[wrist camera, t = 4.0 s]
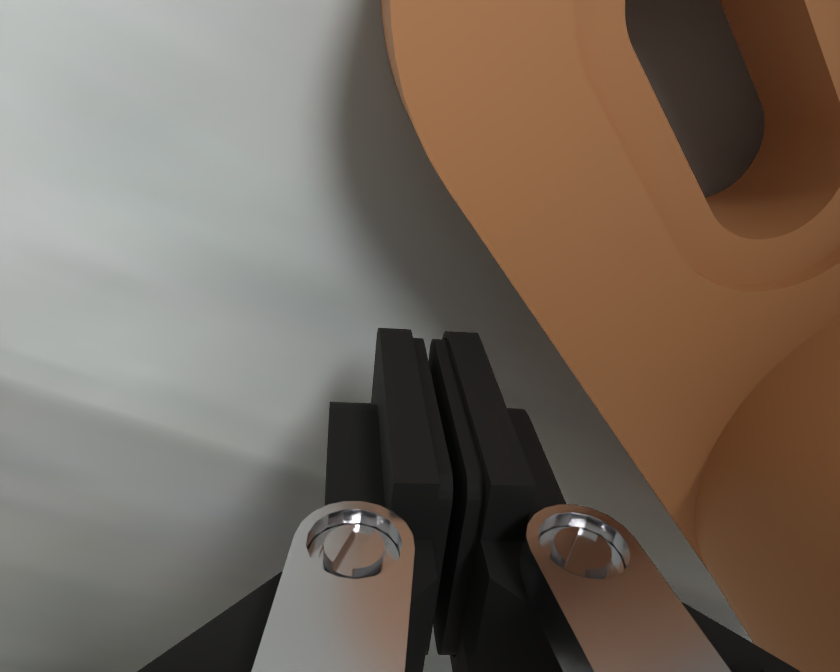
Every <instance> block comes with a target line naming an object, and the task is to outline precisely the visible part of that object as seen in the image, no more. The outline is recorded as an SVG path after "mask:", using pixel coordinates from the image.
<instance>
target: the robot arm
mask: <svg viewBox="0 0 840 672" xmlns="http://www.w3.org/2000/svg"><path fill="white" fill-rule="evenodd" d="M433 626H434V634H435V641H436V648H437V652H438V654H439V655H450V657H451V664H452V670H453V672H800V671H799V670H797V669H796V668H794V667H792V666H791V665H789V664H787V663H786V662H784V661H782V660H780V659H779V658H777V657H775V656H774V655H772V654H770V653H768V652H767V651H765V650H763V649H762V648H760V647H758V646H756V645H755V644H753V643H751V642H750V641H748V640H746V639H744V638H743V637H741V636H739V635H738V634H736V633H734V632H732V631H731V630H729V629H727V628H726V627H724V626H722V625H720V624H719V623H717V622H715V621H714V620H712V619H710V618H708V617H707V616H705V615H703V614H702V613H700V612H698V611H696V610H695V609H693V608H691V607H690V606H688V605H686V604H684V603H683V602H681V601H680V600H679V598H678V597H677V596H676V594H675V593H674V591H673V590H672V589H671V587H670V586H669V585H668V583H667V582H666V580H665V579H664V578H663V576H662V575H661V573H660V572H659V571H658V569H657V568H656V566H655V565H654V564H653V562H652V561H651V560H650V558H649V557H648V555H647V554H646V553H645V551H644V550H643V548H642V547H641V546H640V544H639V543H638V542H637V540H636V539H635V537H634V536H633V535H632V534H631V533H630V532H629V531H628V530H627V529H626V528H625V527H624V526H623V525H622V524H620V523H619V522H617V521H616V520H614V519H613V518H611V517H610V516H608V515H606V514H604V513H601V512H599V511H597V510H594V509H592V508H587V507H583V506H579V505H566V502H565V500H564V498H563V495H562V493H561V491H560V488H559V486H558V484H557V481H556V479H555V476H554V474H553V472H552V469H551V467H550V465H549V462H548V460H547V458H546V455H545V453H544V451H543V448H542V446H541V444H540V441H539V439H538V437H537V434H536V432H535V430H534V427H533V425H532V423H531V420H530V418H529V416H528V414H527V412H526V411H525V410H523V409H513V408H506V405H505V402H504V400H503V397H502V395H501V392H500V389H499V387H498V384H497V382H496V379H495V376H494V374H493V371H492V368H491V366H490V363H489V361H488V358H487V355H486V353H485V350H484V347H483V345H482V342H481V340H480V337H479V335H478V333H467V332H448V331H445V332H444V334H443V338H442V340H439V339H432V341H431V345H430V352H429V360H428V358H427V353H426V349H425V344H424V340H423V339H419V338H413V337H412V332H411V330H408V329H389V328H378V332H377V341H376V353H375V365H374V376H373V388H372V400H371V403H345V402H330V408H329V427H328V447H327V467H326V488H325V506H324V507H322V508H320V509H317V510H315V511H313V512H312V513H311V514H310V515H308V516H307V517H306V518H305V519H304V520H303V521H302V522H301V523H300V525H299V527H298V529H297V530H296V532H295V534H294V537H293V540H292V543H291V546H290V550H289V553H288V556H287V559H286V562H285V566H284V569H283V571H282V572H280V573H279V574H278V575H276V576H275V577H273V578H272V579H270V580H269V581H267V582H266V583H265V584H263V585H262V586H260V587H259V588H257V589H256V590H254V591H253V592H252V593H250V594H249V595H247V596H246V597H244V598H243V599H241V600H240V601H239V602H237V603H236V604H234V605H233V606H231V607H230V608H229V609H227V610H226V611H224V612H223V613H221V614H220V615H218V616H217V617H216V618H214V619H213V620H211V621H210V622H208V623H207V624H205V625H204V626H203V627H201V628H200V629H198V630H197V631H195V632H194V633H192V634H191V635H190V636H188V637H187V638H185V639H184V640H182V641H181V642H179V643H178V644H177V645H175V646H174V647H172V648H171V649H169V650H168V651H166V652H165V653H164V654H162V655H161V656H159V657H158V658H156V659H155V660H153V661H152V662H151V663H149V664H148V665H146V666H145V667H143V668H142V669H140V670H139V671H138V672H423V666H424V660H425V655H427V654H428V651H429V645H430V639H431V633H432V627H433Z"/></svg>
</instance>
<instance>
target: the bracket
mask: <svg viewBox="0 0 840 672" xmlns="http://www.w3.org/2000/svg"><path fill="white" fill-rule="evenodd" d="M720 3H721V5H722V8H723V10H724V12H725V15H726V17H727V20H728V22H729V25H730V27H731V30H732V32H733V35H734V37H735V40H736V42H737V44H738V47H739V49H740V52H741V54H742V57H743V59H744V62H745V64H746V67H747V69H748V72H749V74H750V76H751V79H752V81H753V84H754V86H755V89H756V91H757V94H758V96H759V99H760V101H761V104H762V107H763V111H764V119H765V128H764V135H763V140H762V143H761V146H760V149H759V151H758V153H757V155H756V157H755V159H754V161H753V162H752V164H751V165H750V167H749V168H748V169H747V171H746V172H745V173H744V174H743V175H742V176H741V177H740V178H739V179H738V180H737V181H736V182H735V183H733V184H732V185H731V186H729V187H728V188H726V189H725V190H723V191H721V192H719V193H717V194H714V195H712V196H708V197H704V195H703V192H702V190H701V188H700V186H699V184H698V182H697V180H696V178H695V176H694V174H693V172H692V170H691V168H690V165H689V163H688V161H687V159H686V157H685V155H684V153H683V151H682V149H681V147H680V145H679V143H678V141H677V139H676V136H675V134H674V132H673V130H672V128H671V126H670V124H669V122H668V120H667V118H666V116H665V114H664V112H663V109H662V107H661V105H660V103H659V101H658V99H657V97H656V95H655V93H654V91H653V89H652V87H651V85H650V83H649V80H648V78H647V76H646V74H645V72H644V70H643V68H642V66H641V64H640V62H639V60H638V58H637V56H636V53H635V51H634V49H633V47H632V45H631V42H630V39H629V36H628V32H627V27H626V20H625V0H381V6H382V20H383V28H384V35H385V43H386V48H387V53H388V57H389V61H390V66H391V70H392V74H393V77H394V80H395V83H396V86H397V89H398V92H399V95H400V98H401V101H402V103H403V105H404V107H405V109H406V112H407V114H408V116H409V118H410V120H411V122H412V124H413V127H414V129H415V131H416V133H417V135H418V137H419V139H420V141H421V143H422V146H423V148H424V150H425V152H426V154H427V156H428V158H429V160H430V162H431V164H432V165H433V167H434V169H435V170H436V172H437V174H438V175H439V177H440V178H441V180H442V182H443V183H444V185H445V187H446V188H447V190H448V191H449V193H450V194H451V196H452V197H453V199H454V200H455V201H456V203H457V204H458V206H459V207H460V209H461V210H462V212H463V213H464V215H465V216H466V218H467V219H468V220H469V222H470V223H471V225H472V226H473V228H474V229H475V231H476V232H477V234H478V235H479V237H480V238H481V239H482V241H483V242H484V244H485V245H486V247H487V248H488V250H489V251H490V253H491V254H492V256H493V257H494V258H495V260H496V261H497V263H498V264H499V266H500V267H501V269H502V270H503V272H504V273H505V275H506V276H507V277H508V279H509V280H510V282H511V283H512V285H513V286H514V288H515V289H516V291H517V292H518V294H519V295H520V296H521V298H522V299H523V301H524V302H525V304H526V305H527V307H528V308H529V310H530V311H531V313H532V314H533V315H534V317H535V318H536V320H537V321H538V323H539V324H540V326H541V327H542V329H543V330H544V332H545V333H546V334H547V336H548V337H549V339H550V340H551V342H552V343H553V345H554V346H555V348H556V349H557V350H558V352H559V353H560V355H561V356H562V358H563V359H564V361H565V362H566V364H567V365H568V367H569V368H570V369H571V371H572V372H573V374H574V375H575V377H576V378H577V380H578V381H579V383H580V384H581V386H582V387H583V388H584V390H585V391H586V393H587V394H588V396H589V397H590V399H591V400H592V402H593V403H594V405H595V406H596V407H597V409H598V410H599V412H600V413H601V415H602V416H603V418H604V419H605V421H606V422H607V424H608V425H609V426H610V428H611V429H612V431H613V432H614V434H615V435H616V437H617V438H618V440H619V441H620V443H621V444H622V445H623V447H624V448H625V450H626V451H627V453H628V454H629V456H630V457H631V459H632V460H633V462H634V463H635V464H636V466H637V467H638V469H639V470H640V472H641V473H642V475H643V476H644V478H645V479H646V481H647V482H648V483H649V485H650V486H651V488H652V489H653V491H654V492H655V494H656V495H657V497H658V498H659V500H660V501H661V502H662V504H663V505H664V507H665V508H666V510H667V511H668V513H669V514H670V516H671V517H672V519H673V520H674V521H675V523H676V524H677V526H678V527H679V529H680V530H681V532H682V533H683V535H684V536H685V538H686V539H687V540H688V542H689V543H690V545H691V546H692V548H693V549H694V551H695V552H696V554H697V555H698V557H699V558H700V559H701V561H702V562H703V564H704V565H705V567H706V568H707V570H708V571H709V573H710V574H711V576H712V577H713V579H714V580H715V582H716V584H717V585H718V587H719V588H720V590H721V592H722V593H723V595H724V596H725V598H726V600H727V601H728V603H729V605H730V606H731V608H732V609H733V611H734V613H735V614H736V616H737V617H738V619H739V621H740V622H741V624H742V625H743V627H744V629H745V630H746V632H747V634H748V635H749V637H750V638H751V640H752V642H753V643H754V644H755V645H756V646H758V647H760V648H762V649H763V650H765V651H767V652H768V653H770V654H772V655H774V656H775V657H777V658H779V659H780V660H782V661H784V662H786V663H787V664H789V665H791V666H792V667H794V668H796V669H797V670H799V671H800V672H840V0H720Z"/></svg>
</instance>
